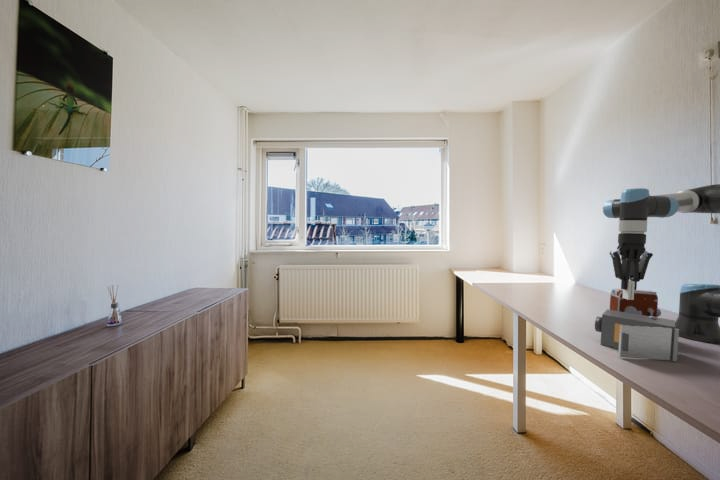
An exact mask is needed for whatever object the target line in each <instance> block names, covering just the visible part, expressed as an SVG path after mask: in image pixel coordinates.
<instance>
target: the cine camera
mask: <svg viewBox="0 0 720 480" xmlns="http://www.w3.org/2000/svg"><path fill="white" fill-rule="evenodd" d="M622 297H623V289H621V288H613V289H611V291H610V297H609V310H614V311H620V312H626V313H632V314H639V315H645V316H654V317H657V318H659V317H660V316H661V315H662V310H661V309H660V308H658V305H659V297H658V294H657V291H652V290H645V289H636V290H634V300H628V299H624V298H622Z"/></svg>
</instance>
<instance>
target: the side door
mask: <svg viewBox="0 0 720 480" xmlns="http://www.w3.org/2000/svg"><path fill="white" fill-rule="evenodd" d="M671 336H672V328H665V327H645V326H626V325H620V333H619V349H618V350H617V351H618V352H617V353H618V354H617V356H618V358H619V357H620V358H626V359H627V358H628V359H644V360H645V359H646V360H661V361H669V360H670V351H671Z"/></svg>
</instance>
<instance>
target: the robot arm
mask: <svg viewBox="0 0 720 480" xmlns="http://www.w3.org/2000/svg"><path fill="white" fill-rule="evenodd" d="M602 212H603V215H604V216H605V217H606V218H608V219H618V220H619V221H618V232H620V233H618V234H617V236H618V237H617V243H618V246H617V247H616V249H615V250H613V251H611V250H610V251H609V255H610V257H611V259H612V265H613V272H614V277H615V278H616V279H619V280H620V289H623V297H622V298H624V299H628V300H634V290H637V286H638V283H639V282H640V281H641V280H642V281H643V280H644V278H645V276H646V273H647V269H648V266H649V262H650V261H651V258H652V257H653V256H654V254H653V253H652V252H648V251H647V249H646V247H645V245H646V244H647V234H646V233H647V232H648V231H647V230H648V218H662V219H663V218H670V217H673V216H674V215H676V214H677V212H678V213H682V214H688V213H692V214H695V213H697V214H720V183H719V184H710V185H709V184H708V185H705V186H700V187H695V188H690V189H683V190H679V191H677V192H675V193H666V194H656V195H655V194H654V195H651V194H650V190H649V189H648V188H642V187H641V188H627V189H623V190H622V191H621V194H620V198H615V199H611V200H610V199H609V200H607V201H606V202H604V204H603V205H602ZM620 256H621V257H620ZM678 305H679V306H678V317H677V318H676V320H675V329H679V337H681V338H685V339H688V340H693V341H697V342H703V343H704V342H705V343H710V344H712V343H713V344H720V324H719V318H720V284H712V283H683V284H682V285H681V287H680V291H679V304H678Z"/></svg>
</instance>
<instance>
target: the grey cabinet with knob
mask: <svg viewBox="0 0 720 480" xmlns="http://www.w3.org/2000/svg"><path fill="white" fill-rule="evenodd" d="M675 322H676V320H674V319H669V318H664V317H663V318H662V317H654V316H645V315H639V314H632V313H626V312H620V311H614V310H610V309H606V310H605V311H604V312H603V313H602V316H596V318H595V320H594V330H595V332H597V333H601V335H600V345H601V346H605V347H608V348H612V349H613V348H614V349H616V350H617V349H619V333H620V325H626V326H645V327H665V328H672V336H671V351H670V360H668V361H670V362H677V361H678V350H679V348H678V347H679V337H680V336H679V329H675Z"/></svg>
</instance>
